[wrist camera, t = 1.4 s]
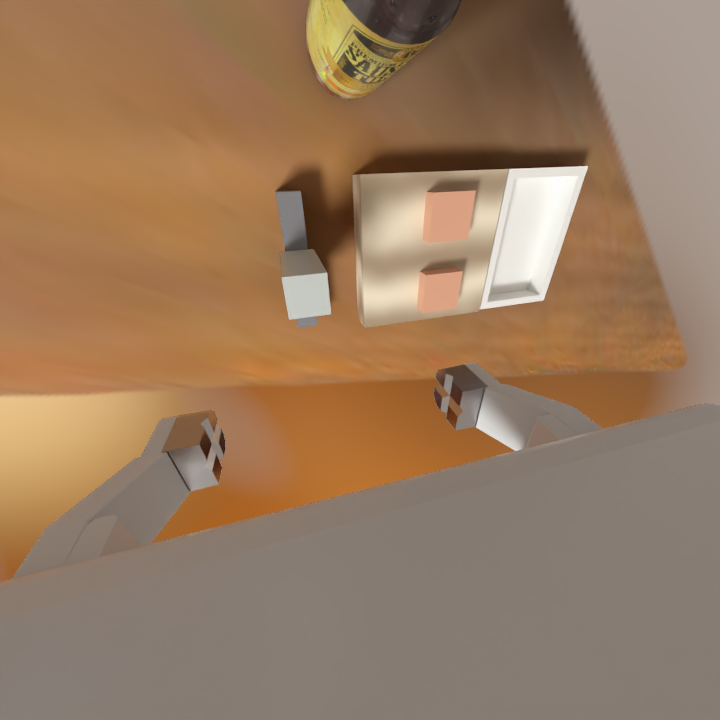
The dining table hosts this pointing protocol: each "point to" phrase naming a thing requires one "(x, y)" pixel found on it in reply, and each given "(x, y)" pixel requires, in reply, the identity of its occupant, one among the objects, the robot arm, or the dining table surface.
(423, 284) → the tile
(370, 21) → the sauce bottle
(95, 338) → the dining table surface
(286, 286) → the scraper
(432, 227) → the tile
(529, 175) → the tray
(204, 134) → the dining table surface
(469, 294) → the birch board
